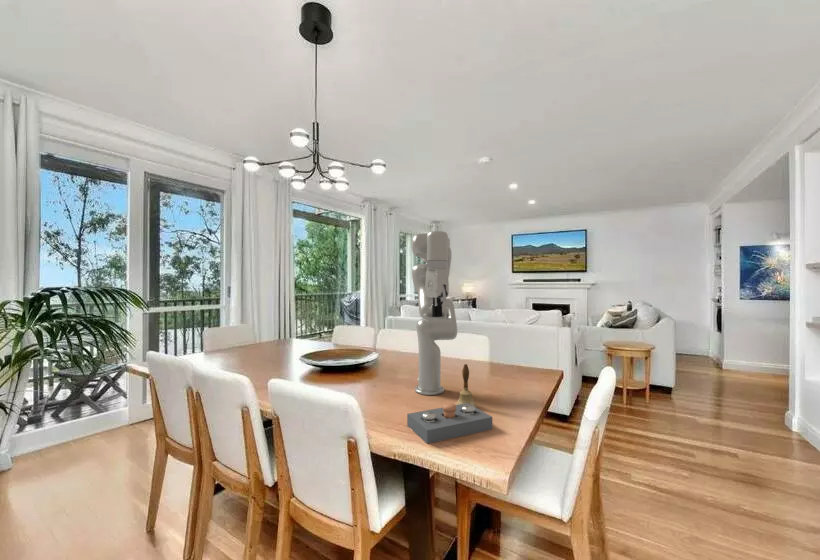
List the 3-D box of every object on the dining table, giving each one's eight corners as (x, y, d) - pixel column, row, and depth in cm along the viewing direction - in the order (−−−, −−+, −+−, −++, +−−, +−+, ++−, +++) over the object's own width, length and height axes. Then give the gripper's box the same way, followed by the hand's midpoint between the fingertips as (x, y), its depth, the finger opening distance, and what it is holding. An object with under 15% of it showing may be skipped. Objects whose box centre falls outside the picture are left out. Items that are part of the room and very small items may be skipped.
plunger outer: (420, 428, 115) (420, 413, 115) (431, 426, 117) (432, 410, 116) (426, 433, 111) (426, 417, 111) (438, 431, 113) (438, 415, 112)
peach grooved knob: (440, 419, 118) (440, 404, 118) (451, 417, 120) (451, 402, 120) (447, 424, 114) (447, 409, 114) (458, 422, 116) (458, 407, 116)
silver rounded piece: (459, 420, 121) (459, 406, 121) (470, 418, 123) (470, 404, 123) (466, 425, 117) (466, 410, 117) (477, 423, 119) (477, 408, 119)
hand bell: (450, 406, 136) (450, 364, 136) (463, 400, 142) (463, 361, 142) (468, 412, 130) (468, 368, 130) (481, 406, 136) (481, 364, 136)
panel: (407, 425, 118) (407, 413, 118) (467, 414, 128) (467, 403, 128) (427, 443, 105) (427, 430, 105) (492, 429, 116) (492, 416, 116)
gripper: (418, 266, 133) (418, 315, 133) (438, 265, 120) (438, 319, 120) (436, 266, 136) (435, 314, 137) (457, 265, 123) (457, 318, 123)
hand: (437, 316), depth 128 cm, fingers closed
